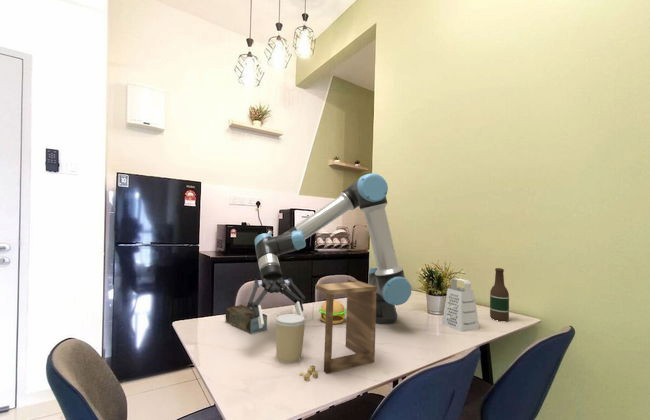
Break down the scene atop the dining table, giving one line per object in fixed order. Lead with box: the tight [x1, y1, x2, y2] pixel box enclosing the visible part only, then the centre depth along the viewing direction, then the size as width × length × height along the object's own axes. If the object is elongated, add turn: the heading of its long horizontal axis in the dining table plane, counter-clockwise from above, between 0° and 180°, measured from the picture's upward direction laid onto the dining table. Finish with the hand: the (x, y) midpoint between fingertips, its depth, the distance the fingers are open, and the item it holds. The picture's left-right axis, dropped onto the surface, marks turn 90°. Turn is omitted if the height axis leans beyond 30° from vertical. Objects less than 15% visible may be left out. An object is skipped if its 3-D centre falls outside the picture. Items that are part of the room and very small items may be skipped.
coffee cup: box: [275, 313, 306, 364], centre depth 94 cm, size 9×9×12 cm
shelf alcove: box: [315, 278, 377, 374], centre depth 95 cm, size 17×14×23 cm
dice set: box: [298, 364, 319, 382], centre depth 82 cm, size 5×5×2 cm
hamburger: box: [318, 300, 347, 325], centre depth 131 cm, size 12×12×9 cm
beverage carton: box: [225, 304, 268, 335], centre depth 121 cm, size 8×19×7 cm, turn 47°
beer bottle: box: [489, 267, 510, 322], centre depth 143 cm, size 8×8×24 cm
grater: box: [441, 278, 480, 332], centre depth 130 cm, size 10×10×20 cm
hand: (282, 323), depth 97 cm, fingers open, 13 cm apart
